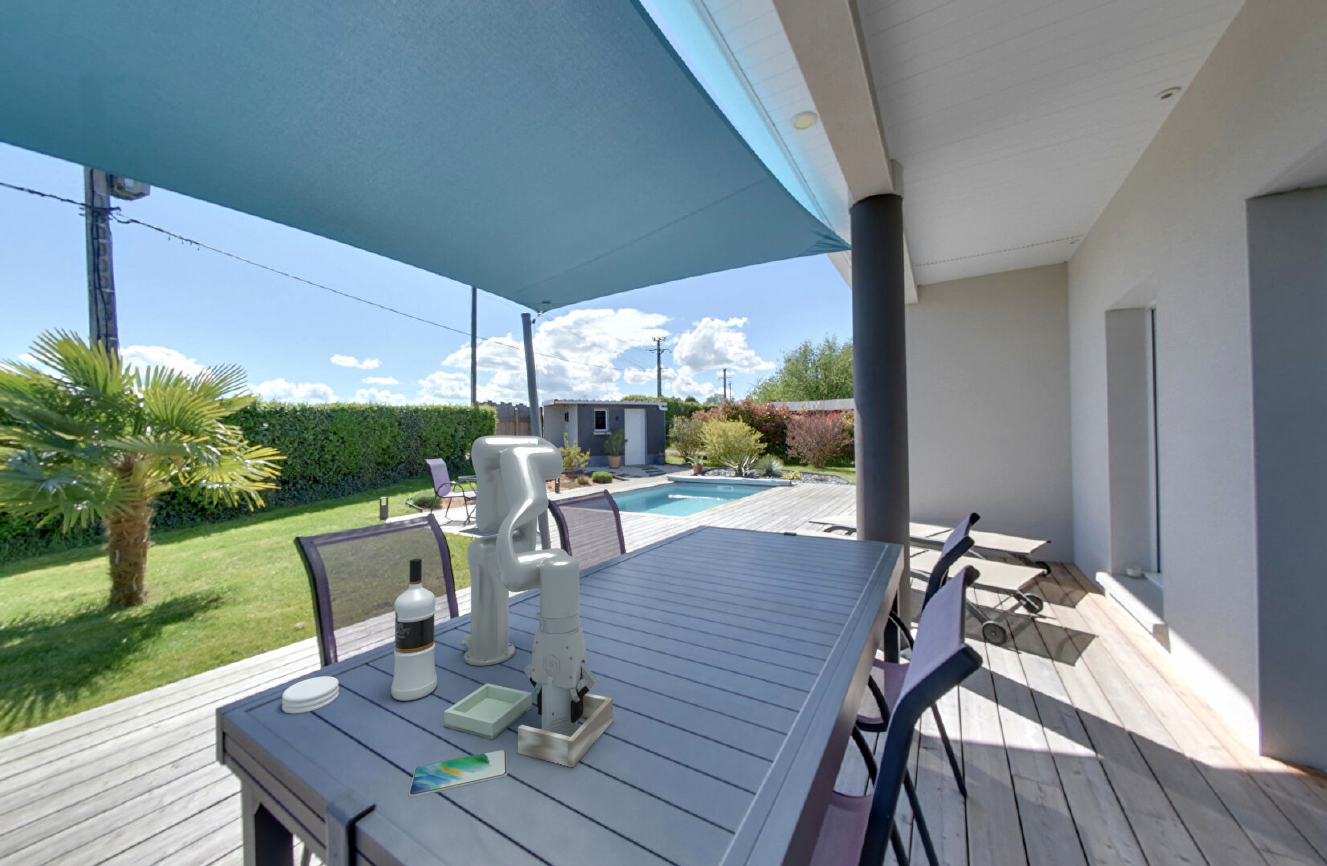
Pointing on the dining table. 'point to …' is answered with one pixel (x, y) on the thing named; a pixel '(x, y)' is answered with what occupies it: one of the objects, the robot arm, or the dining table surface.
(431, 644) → the vodka
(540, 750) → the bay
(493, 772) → the smartphone
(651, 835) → the dining table surface
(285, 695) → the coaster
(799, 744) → the dining table surface
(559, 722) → the skincare box
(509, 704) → the tray
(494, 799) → the dining table surface
